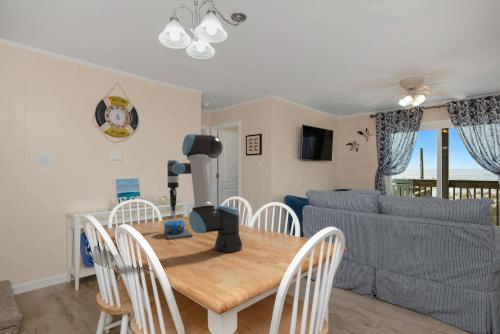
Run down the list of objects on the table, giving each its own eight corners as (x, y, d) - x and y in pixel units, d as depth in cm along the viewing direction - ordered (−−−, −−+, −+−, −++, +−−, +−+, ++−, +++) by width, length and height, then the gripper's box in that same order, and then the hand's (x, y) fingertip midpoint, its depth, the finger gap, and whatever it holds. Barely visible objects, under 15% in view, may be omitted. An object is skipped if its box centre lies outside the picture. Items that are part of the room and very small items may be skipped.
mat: (192, 236, 176) (192, 234, 176) (168, 239, 170) (168, 236, 170) (186, 231, 191) (186, 228, 191) (164, 234, 184) (164, 231, 184)
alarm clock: (164, 229, 188) (164, 235, 174) (164, 220, 188) (164, 226, 174) (184, 228, 192) (185, 234, 178) (183, 219, 192) (185, 224, 178)
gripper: (180, 182, 190) (180, 216, 191) (176, 181, 202) (176, 213, 202) (169, 182, 187) (169, 217, 187) (165, 181, 199) (166, 214, 199)
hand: (173, 215), depth 195 cm, fingers closed
